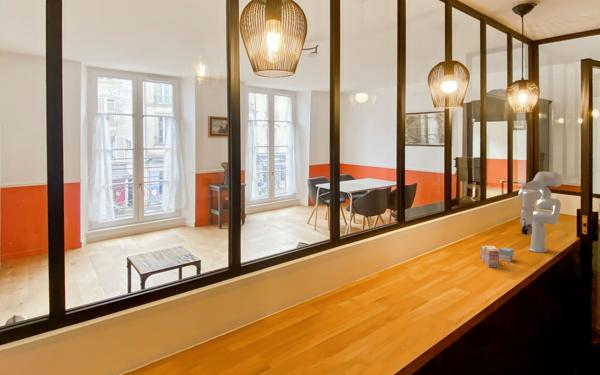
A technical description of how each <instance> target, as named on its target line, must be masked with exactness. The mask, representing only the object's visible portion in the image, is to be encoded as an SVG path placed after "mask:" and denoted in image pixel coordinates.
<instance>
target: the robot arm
mask: <svg viewBox="0 0 600 375" xmlns="http://www.w3.org/2000/svg"><path fill="white" fill-rule="evenodd" d="M562 183H563V177H562V175H560V174H559V173H557V172H555V171H543V170H542V171H538V172H537V173H536V174H535V176H534V177H533V179H532V181H531V180H530V181H529V182H525V183H524V184H522V185H521V187H520V188H519V190H518V194H517V195H518V198H519V199H521V200H522V202H521V213H520V220H519V224H521V225H520V226H521V228H522V234H521V235H524V234H527V225H529V226H532V234H531V235H530V236H531V237H530V246H529V247H527V249H528V251H531V252H534V253H542V254H544V253H547V252H548V249H547V248H546V246H547V244H546V237H547V228H546V226H545V224H546V225H557V224H558V221H559V217H560V212H561V207H562V206H561V200H560V199H558V198H552V197H551V196H552V191H551V190H550V189H549V187H555V188H556V187H560V186H561V185H562ZM535 201H536V203H535ZM535 206H536V209H537V210H535ZM525 225H526V226H525Z"/></svg>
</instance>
